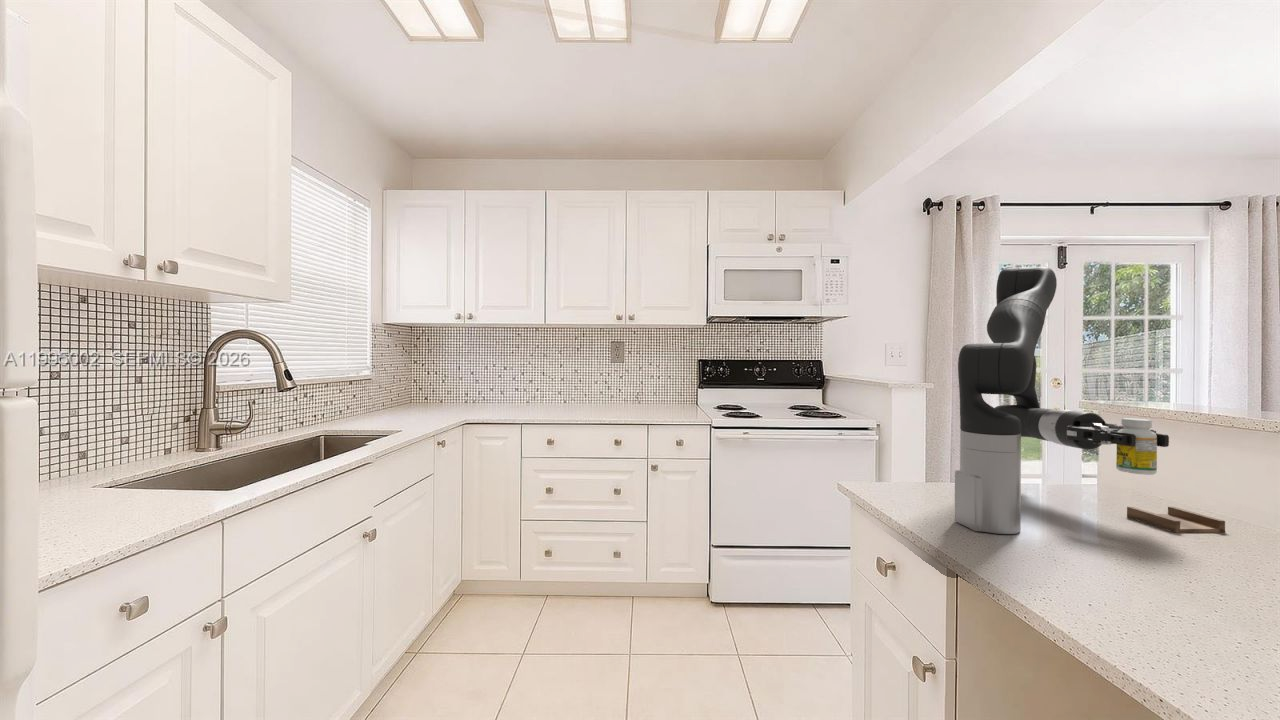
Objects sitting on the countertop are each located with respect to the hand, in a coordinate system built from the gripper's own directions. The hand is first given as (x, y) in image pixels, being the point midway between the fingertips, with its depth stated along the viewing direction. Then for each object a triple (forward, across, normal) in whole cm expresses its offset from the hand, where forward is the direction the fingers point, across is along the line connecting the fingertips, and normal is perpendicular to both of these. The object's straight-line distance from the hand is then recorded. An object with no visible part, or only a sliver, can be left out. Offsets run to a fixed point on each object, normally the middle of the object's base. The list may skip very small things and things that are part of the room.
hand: (1150, 440), depth 94 cm
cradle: (-4, +8, +16) cm, 18 cm away
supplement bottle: (-3, 0, +6) cm, 7 cm away
